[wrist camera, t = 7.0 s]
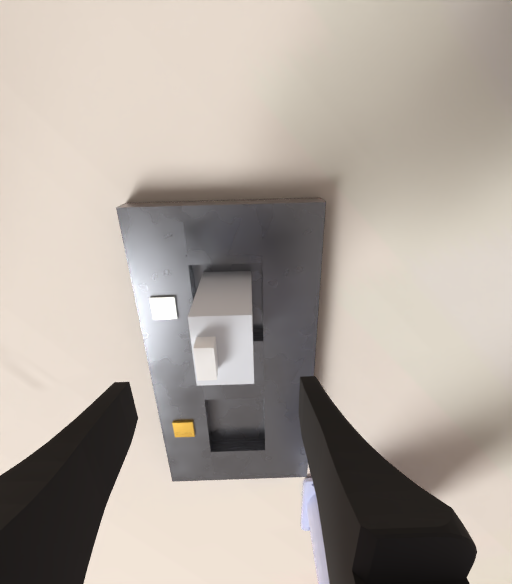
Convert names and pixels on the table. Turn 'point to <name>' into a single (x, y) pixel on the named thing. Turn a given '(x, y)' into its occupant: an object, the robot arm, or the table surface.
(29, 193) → the table surface
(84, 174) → the table surface
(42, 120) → the table surface
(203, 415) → the panel
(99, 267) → the table surface
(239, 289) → the plug
